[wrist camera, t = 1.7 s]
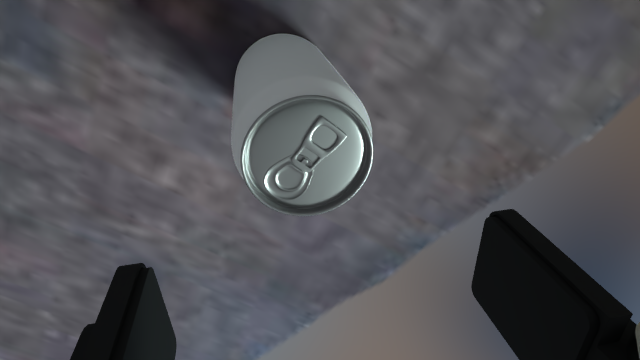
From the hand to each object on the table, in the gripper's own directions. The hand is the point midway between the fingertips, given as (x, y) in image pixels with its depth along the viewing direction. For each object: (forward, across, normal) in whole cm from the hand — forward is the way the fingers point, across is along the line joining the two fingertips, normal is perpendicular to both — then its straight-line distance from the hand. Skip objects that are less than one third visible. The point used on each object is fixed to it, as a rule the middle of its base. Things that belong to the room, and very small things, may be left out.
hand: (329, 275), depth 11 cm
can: (+18, -1, -1) cm, 19 cm away
